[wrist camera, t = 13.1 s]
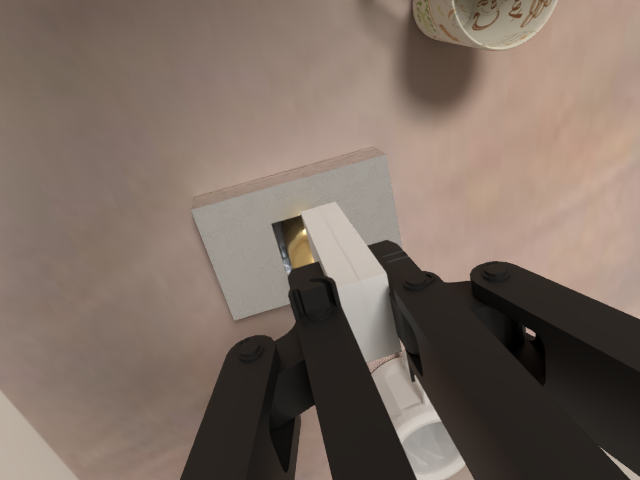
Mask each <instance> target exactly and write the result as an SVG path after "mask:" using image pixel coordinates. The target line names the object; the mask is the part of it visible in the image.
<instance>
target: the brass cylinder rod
mask: <svg viewBox="0 0 640 480" xmlns="http://www.w3.org/2000/svg"><path fill="white" fill-rule="evenodd" d="M282 235H283V238H284V242H285V245H286V248H287V251H288V255H289V258H290V261H291V265H292V268H293V269H294V268H298V267H301V266H304V265H308V264H311V263H314V259H313V256H312V252H311V248H310V245H309V241H308V238H307V234H306V230H305V227H304V223H303V219H302V216H301V215H299V216H296V217H292V218H289V219H286V220H284V222H283V224H282Z"/></svg>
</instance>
